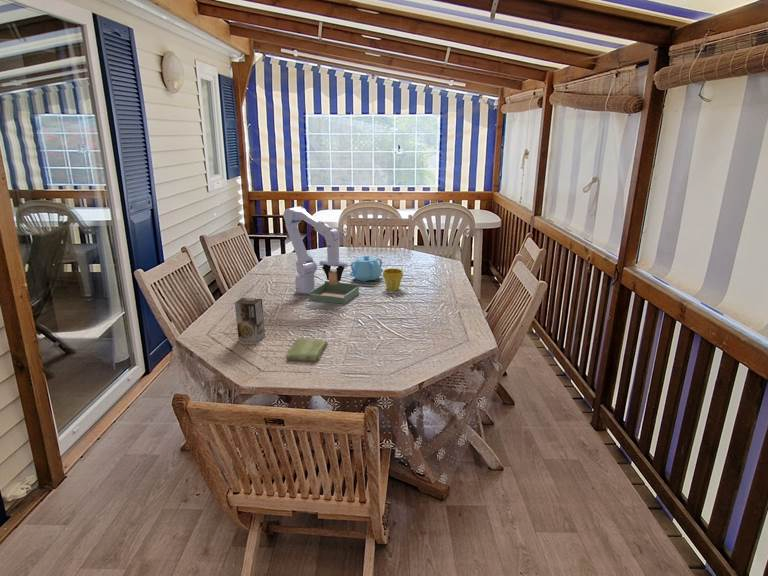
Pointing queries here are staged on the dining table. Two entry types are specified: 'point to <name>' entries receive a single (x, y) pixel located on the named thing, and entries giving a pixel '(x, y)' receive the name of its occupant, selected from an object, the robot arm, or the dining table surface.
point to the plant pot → (392, 278)
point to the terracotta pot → (333, 277)
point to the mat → (320, 305)
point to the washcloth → (306, 350)
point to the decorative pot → (366, 268)
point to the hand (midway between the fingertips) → (334, 280)
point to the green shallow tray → (335, 292)
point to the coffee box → (250, 319)
